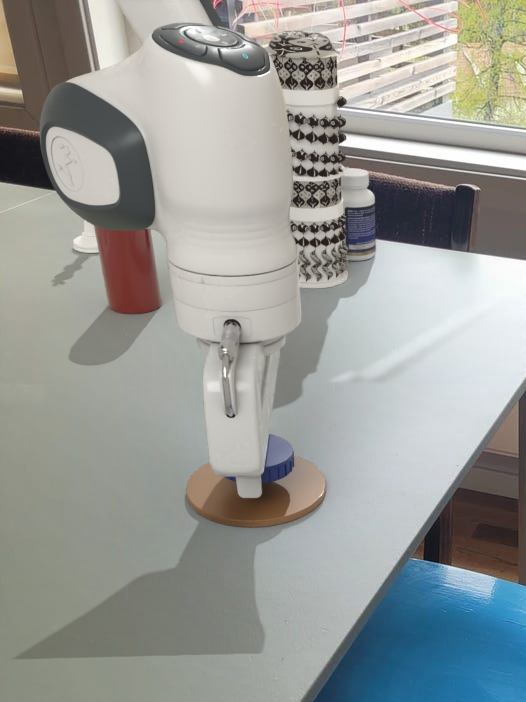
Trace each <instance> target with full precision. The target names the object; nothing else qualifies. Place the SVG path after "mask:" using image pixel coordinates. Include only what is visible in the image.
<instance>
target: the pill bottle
mask: <svg viewBox="0 0 526 702" xmlns="http://www.w3.org/2000/svg"><path fill="white" fill-rule="evenodd" d="M369 175H370V173H369V171H367V170H366V169H362V168H355V167H354V168H353V167H351V168H350V167H349V168H348V167H347V168H344V175H342V176H341V197H342V198H343V213H344V214H345V216H346V218H347V221H346V222H345V225H344V226H343V227H344V228H345V230H346V231H347V235H346V238H345V239H344V240H343V241H344V242H345V243H346V246H347V247H348V251H347V252H346V253H347V255H346V258H347V260H348V261H354V262H355V261H356V262H359V261H366V260H369V259H372V258H373V257H375V255H376V252H377V251H376V250H377V245H376V244H377V242H376V241H377V240H376V197H375V193H374V192H373V191H371V190H370V189H368V187H369V186H370V176H369Z"/></svg>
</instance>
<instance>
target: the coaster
mask: <svg viewBox="0 0 526 702" xmlns="http://www.w3.org/2000/svg"><path fill="white" fill-rule="evenodd" d="M185 491H186V498H187V502H188V504H189V506H190V507H191V508H192V509H193V511H195V512H196V514H198V515H199V516H201V517H203V518H205V519H207V520H209V521H212V522H214V523H218V524H221V525H226V526H231V527H238V528H239V527H240V528H264V527H271V526H277V525H282V524H285V523H289V522H292V521H295V520H298V519H300V518H302V517H304V516H306V515H308V514H309V513H311V512H313V511H314V510H315V509H316V508H317V507H318V506H319V505H321V503H322V501H323V500H324V498H325V496H326V493H327V492H326V491H327V483H326V477H325V475H324V474H323V472H322V471H321V469H320V468H319V467H318V466H317V465H315V464H314V463H312V462H311V461H309V460H307V459H305V458H302V457H300V456H296V455H294V467H293V469H292V472H290V473H289V474H288V475H287V476H286V477H284V478H282V479H280V480H277V481H274V482H270V483H263V487H262V494H261V496H260V497H258V498H242V497H240V496H239V494H238V491H237V483H236V482H235V481H232V480H229V479H227V478H225V477H223V476H217V475H216V474H215V473H214V472H213V470H212V468H211V465H210V461H209V462H207V463H205V464H203V465H201V466H200V467H199V468H198V469H196V470H195V471H194V472H193V473H192V474H191V475H190V477H189V478H188V481H187V483H186V487H185Z"/></svg>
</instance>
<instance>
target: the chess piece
mask: <svg viewBox="0 0 526 702" xmlns="http://www.w3.org/2000/svg"><path fill="white" fill-rule="evenodd" d="M82 219H83V218H82ZM82 221H83V231H82V232H81V235H79V236H77V237H74V239H73V240H72V244H73V245H72V248H73V249H74V250H75V251H76V252H80V253H86V254H99V251H98V246H97V240H96V235H95V229H94V225H93V224H91V223H89V222H87V221H86V220H84V219H83V220H82Z"/></svg>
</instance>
